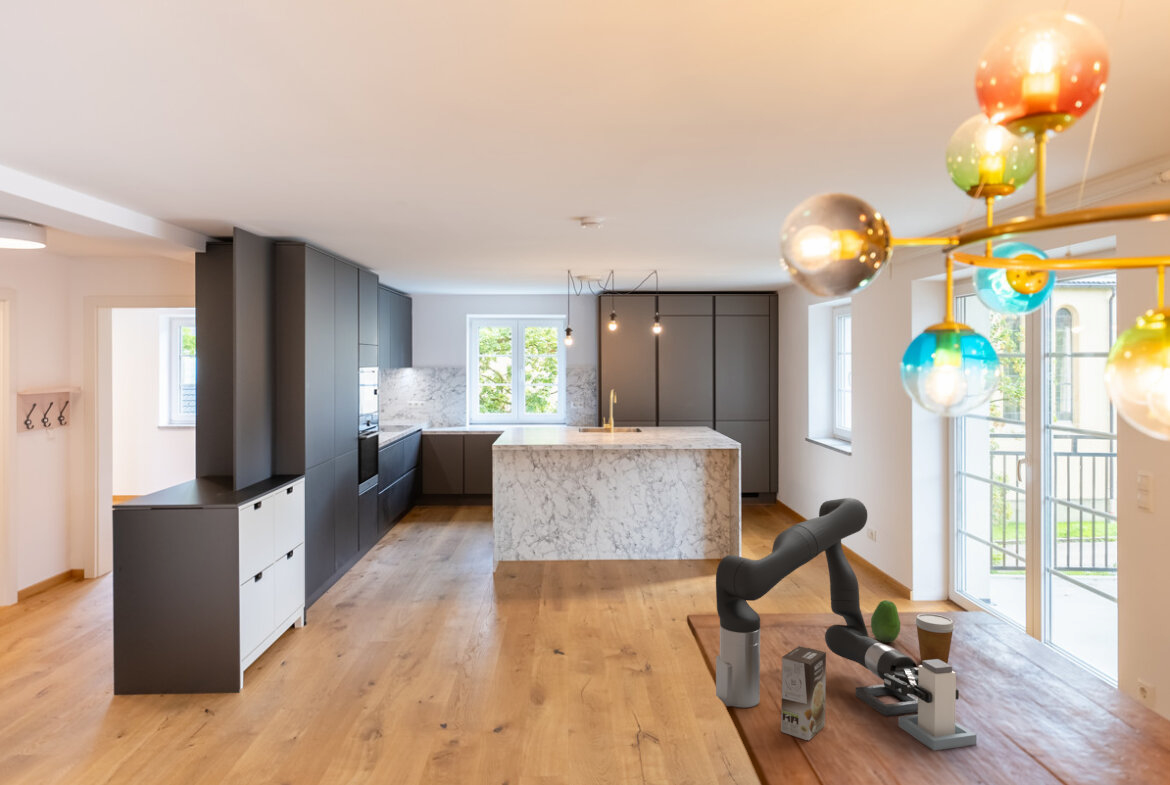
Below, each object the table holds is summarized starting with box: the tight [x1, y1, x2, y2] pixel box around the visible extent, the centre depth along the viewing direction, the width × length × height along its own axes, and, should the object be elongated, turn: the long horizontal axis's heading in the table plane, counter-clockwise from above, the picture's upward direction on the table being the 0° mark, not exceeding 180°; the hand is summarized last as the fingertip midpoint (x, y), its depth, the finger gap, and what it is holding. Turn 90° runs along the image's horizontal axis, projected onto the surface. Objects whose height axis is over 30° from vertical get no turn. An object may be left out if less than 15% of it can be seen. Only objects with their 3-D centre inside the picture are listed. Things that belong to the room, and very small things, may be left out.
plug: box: [917, 659, 957, 737], centre depth 147 cm, size 5×5×15 cm
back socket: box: [855, 683, 918, 717], centre depth 161 cm, size 10×10×2 cm
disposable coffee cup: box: [914, 613, 956, 664], centre depth 184 cm, size 10×10×12 cm
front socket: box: [898, 713, 977, 751], centre depth 147 cm, size 10×10×2 cm
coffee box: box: [780, 645, 827, 741], centre depth 149 cm, size 9×6×16 cm
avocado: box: [870, 599, 901, 644], centre depth 200 cm, size 8×8×12 cm
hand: (943, 696), depth 145 cm, fingers open, 6 cm apart
